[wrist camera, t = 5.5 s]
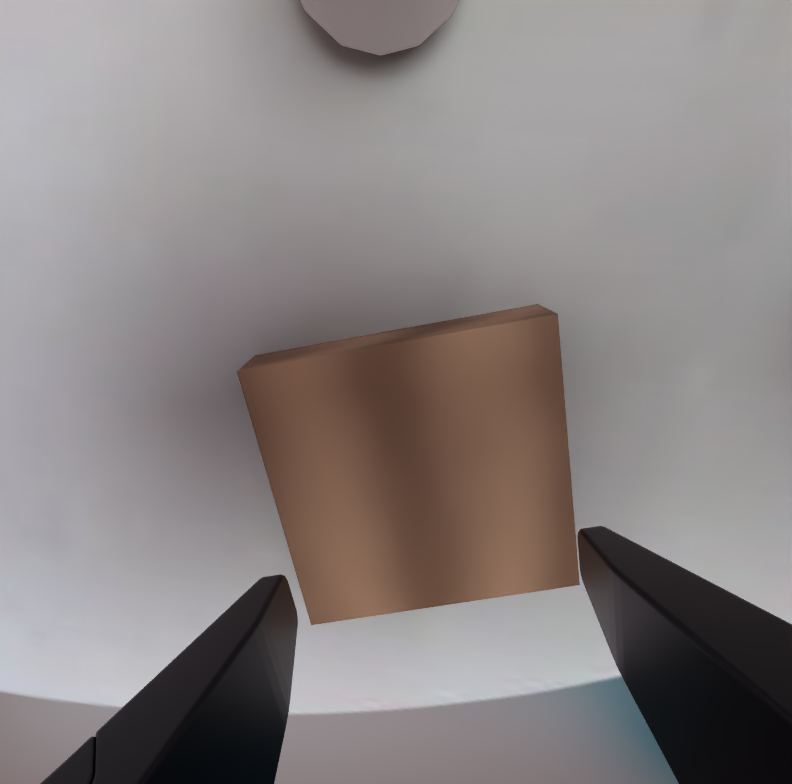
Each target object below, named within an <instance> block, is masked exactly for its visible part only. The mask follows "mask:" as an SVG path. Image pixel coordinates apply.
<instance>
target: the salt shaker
mask: <svg viewBox="0 0 792 784" xmlns="http://www.w3.org/2000/svg"><path fill="white" fill-rule="evenodd" d="M300 1H301V3H302V6H303V8H304V10H305V11H306V12H307V13H308V14H309V15H310V16H311V17H312V18H313V19H314V20H315V21H316V22H317V23H318V24H319V25H320V26H321V27H322V28H323V29H324V30H325V31H326V32H328V33H329V34H330V35H331V36H332V37H333V38H334V39H335V40H336V41H337V42H338V43H339V44H340V45H341V46H345V47H349V48H353V49H357V50H360V51H364V52H368V53H372V54H376V55H380V56H381V55H385V54H389V53H393V52H397V51H401V50H405V49H409V48H413V47H417V46H419V45H420V44H421V43H423V42H424V41H425V40H426V39H427V38H428V37H429V36H430V35H431V34H432V33H433V32H435V31H436V30H437V29H438V28H439V27H440V26H441V25H442V24H443V23H444V22H446V21H447V20H448V19H449V18H450V17H451V15H452V14H453V12H454V10H455V8H456V6H457V4H458V1H459V0H300Z"/></svg>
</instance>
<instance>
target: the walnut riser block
mask: <svg viewBox="0 0 792 784" xmlns="http://www.w3.org/2000/svg"><path fill="white" fill-rule="evenodd" d="M237 373H238V376H239V380H240V383H241V386H242V390H243V393H244V397H245V400H246V403H247V407H248V410H249V414H250V417H251V421H252V424H253V427H254V431H255V434H256V438H257V441H258V444H259V448H260V451H261V455H262V458H263V461H264V465H265V468H266V472H267V475H268V479H269V482H270V485H271V489H272V492H273V496H274V499H275V502H276V506H277V509H278V513H279V516H280V520H281V523H282V526H283V530H284V533H285V537H286V540H287V543H288V547H289V550H290V554H291V557H292V560H293V564H294V567H295V571H296V574H297V578H298V581H299V584H300V588H301V591H302V595H303V598H304V601H305V605H306V608H307V612H308V615H309V619H310V622H311V625H314V624H321V623H327V622H334V621H341V620H348V619H354V618H361V617H368V616H374V615H381V614H388V613H394V612H401V611H408V610H414V609H421V608H428V607H435V606H441V605H448V604H455V603H461V602H468V601H475V600H481V599H488V598H495V597H501V596H508V595H515V594H522V593H528V592H535V591H542V590H548V589H555V588H562V587H568V586H575V585H580V584H579V572H578V560H577V547H576V535H575V523H574V511H573V498H572V486H571V474H570V461H569V449H568V437H567V425H566V412H565V400H564V388H563V375H562V363H561V351H560V339H559V326H558V314H557V313H555V312H553V311H551V310H548V309H546V308H544V307H542V306H540V305H538V304H536V305H531V306H525V307H520V308H514V309H509V310H503V311H498V312H492V313H487V314H481V315H476V316H470V317H465V318H459V319H454V320H448V321H443V322H437V323H432V324H426V325H421V326H415V327H410V328H404V329H399V330H393V331H388V332H382V333H377V334H371V335H366V336H360V337H355V338H349V339H344V340H338V341H333V342H327V343H322V344H316V345H311V346H305V347H300V348H294V349H289V350H283V351H278V352H272V353H266V354H261V355H256V356H254V357H253V358H252V359H251V360H250V361H249V362H248V363H246V364H245V365H244V366H243V367H242V368H241V369H240V370H238V371H237Z"/></svg>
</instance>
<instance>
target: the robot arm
mask: <svg viewBox="0 0 792 784" xmlns="http://www.w3.org/2000/svg"><path fill="white" fill-rule="evenodd" d="M578 548H579V562H580V572H581V576H582V580H583V583H584V586H585V588H586V591H587V593H588V596H589V598H590V601H591V603H592V606H593V608H594V611H595V613H596V616H597V618H598V621H599V623H600V626H601V628H602V631H603V633H604V636H605V638H606V641H607V643H608V646H609V648H610V651H611V653H612V655H613V658H614V660H615V663H616V665H617V667H618V669H619V671H620V673H621V675H622V677H623V679H624V681H625V683H626V685H627V687H628V689H629V691H630V693H631V695H632V696H633V698H634V700H635V702H636V704H637V706H638V708H639V710H640V712H641V713H642V715H643V717H644V719H645V721H646V723H647V725H648V727H649V728H650V730H651V732H652V734H653V736H654V738H655V739H656V741H657V744H658V745H659V747H660V749H661V751H662V753H663V755H664V757H665V759H666V760H667V762H668V764H669V766H670V768H671V770H672V772H673V774H674V775H675V777H676V779H677V781H678V783H679V784H792V624H790V623H788V622H786V621H784V620H782V619H780V618H778V617H776V616H775V615H773V614H771V613H769V612H767V611H765V610H763V609H761V608H759V607H757V606H755V605H753V604H751V603H750V602H748V601H746V600H744V599H742V598H740V597H738V596H736V595H734V594H732V593H730V592H728V591H727V590H725V589H723V588H721V587H719V586H717V585H715V584H713V583H711V582H709V581H707V580H705V579H703V578H702V577H700V576H698V575H696V574H694V573H692V572H690V571H688V570H686V569H684V568H682V567H680V566H679V565H677V564H675V563H673V562H671V561H669V560H667V559H665V558H663V557H661V556H659V555H657V554H656V553H654V552H652V551H650V550H648V549H646V548H644V547H642V546H640V545H638V544H636V543H634V542H632V541H631V540H629V539H627V538H625V537H623V536H621V535H619V534H617V533H615V532H613V531H611V530H609V529H608V528H605V527H603V526H597V527H591V528H584V529H581V530H580V531H579V532H578ZM297 625H298V619H297V611H296V608H295V604H294V601H293V597H292V594H291V590H290V587H289V584H288V581H287V579H286V577H285V576H284V575H275V576H268V577H263V578H261V579H260V580H258V581H257V582H256V583H255V584H254V585H253V586H252V587H251V588H250V589H249V590H248V591H247V592H246V593H245V594H243V595H242V596H241V597H240V598H239V599H238V600H237V601H236V602H235V603H234V604H233V605H232V606H231V607H230V608H228V609H227V610H226V611H225V612H224V613H223V614H222V615H221V616H220V617H219V618H218V619H217V620H216V621H215V622H214V623H212V624H211V625H210V626H209V627H208V628H207V629H206V630H205V631H204V632H203V633H202V634H201V635H200V636H199V637H197V638H196V639H195V640H194V641H193V642H192V643H191V644H190V645H189V646H188V647H187V648H186V649H185V650H184V651H183V652H181V653H180V654H179V655H178V656H177V657H176V658H175V659H174V660H173V661H172V662H171V663H170V664H169V665H168V666H166V667H165V668H164V669H163V670H162V671H161V672H160V673H159V674H158V675H157V676H156V677H155V678H154V679H153V680H152V681H150V682H149V683H148V684H147V685H146V686H145V687H144V688H143V689H142V690H141V691H140V692H139V693H138V694H137V695H135V696H134V697H133V698H132V699H131V700H130V701H129V702H128V703H127V704H126V705H125V706H124V707H123V708H122V709H120V710H119V711H118V712H117V713H116V714H115V715H114V716H113V717H112V718H111V719H110V720H109V721H108V722H107V723H105V725H103V726H102V727H101V728H100V729H99V730H98V731H97V733H96V737H90V738H89V739H88V740H87V741H86V742H85V743H84V744H83V745H82V746H81V747H80V748H79V749H78V750H77V751H75V752H74V753H73V754H72V755H71V756H70V757H69V758H68V759H67V760H66V761H65V762H64V763H63V764H61V765H60V766H59V767H58V768H57V769H56V770H55V771H54V772H53V773H51V774H50V776H48V777H47V778H46V779H45V780H44V781H43V782H42V783H41V784H274V781H275V777H276V772H277V767H278V762H279V757H280V753H281V747H282V743H283V738H284V733H285V728H286V723H287V717H288V712H289V704H290V695H291V685H292V675H293V665H294V656H295V646H296V636H297Z"/></svg>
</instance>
